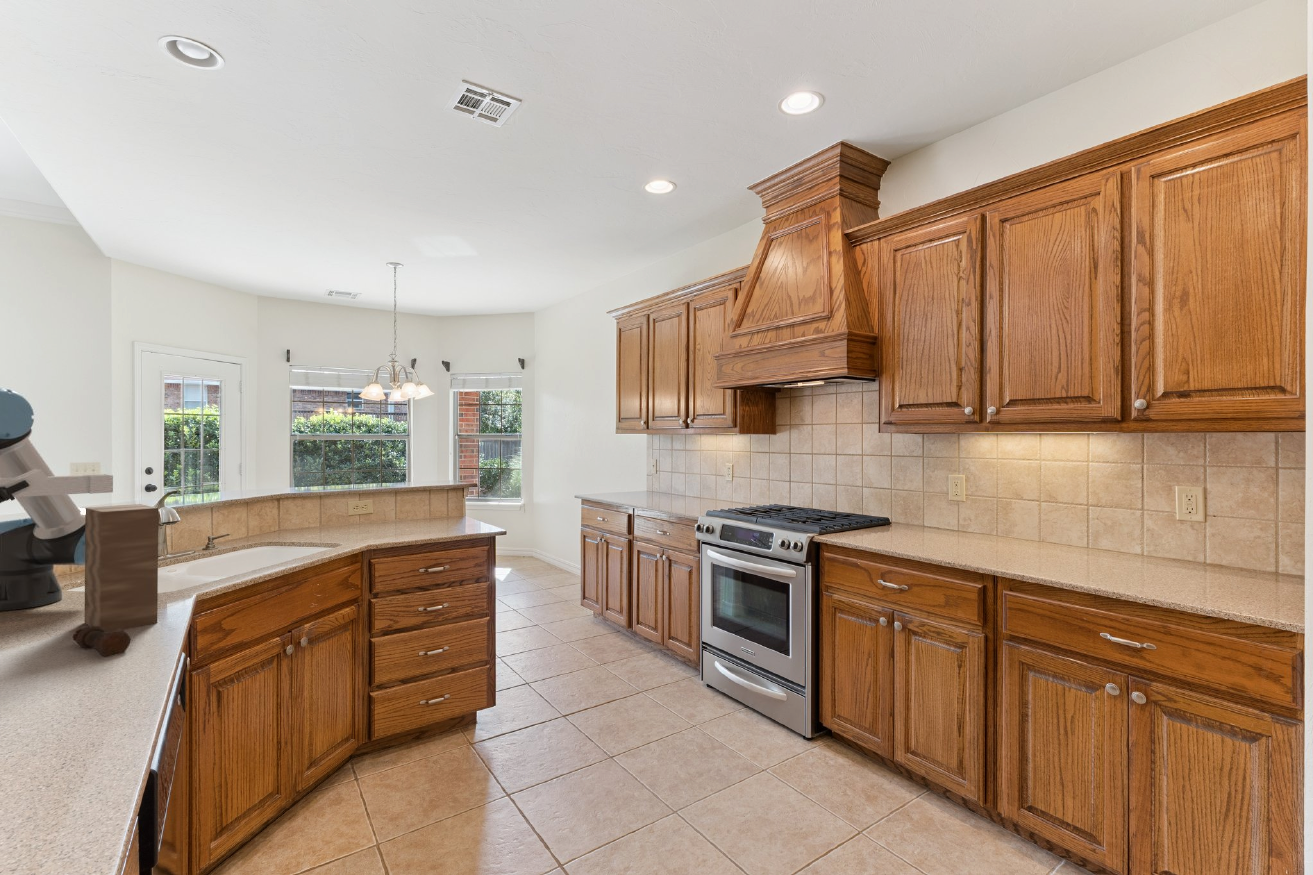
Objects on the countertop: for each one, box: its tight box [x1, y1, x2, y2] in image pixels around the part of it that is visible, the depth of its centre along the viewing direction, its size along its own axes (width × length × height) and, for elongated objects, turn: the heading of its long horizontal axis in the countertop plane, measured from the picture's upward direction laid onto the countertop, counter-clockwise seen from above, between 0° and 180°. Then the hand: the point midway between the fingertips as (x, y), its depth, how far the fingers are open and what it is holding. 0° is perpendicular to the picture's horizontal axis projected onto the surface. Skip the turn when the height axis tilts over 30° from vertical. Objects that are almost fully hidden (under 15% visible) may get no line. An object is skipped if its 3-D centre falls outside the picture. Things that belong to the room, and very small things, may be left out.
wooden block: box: [83, 503, 159, 632], centre depth 149 cm, size 14×10×28 cm
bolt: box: [72, 626, 132, 658], centre depth 130 cm, size 6×5×15 cm
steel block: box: [0, 473, 114, 498], centre depth 138 cm, size 7×20×4 cm, turn 144°
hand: (42, 474), depth 137 cm, fingers closed on steel block, 4 cm apart
